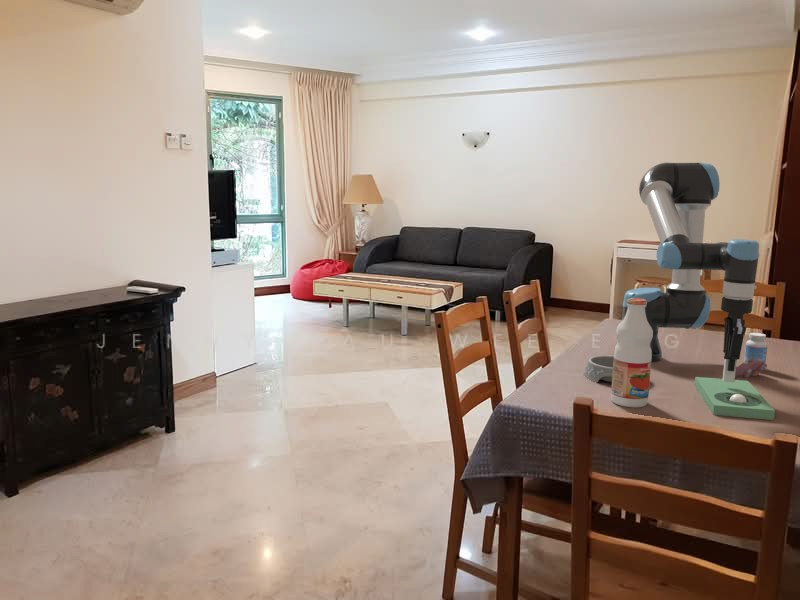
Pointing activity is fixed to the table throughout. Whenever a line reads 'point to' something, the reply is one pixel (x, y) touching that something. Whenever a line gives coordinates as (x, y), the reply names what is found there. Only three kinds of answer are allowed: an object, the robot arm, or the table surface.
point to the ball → (738, 398)
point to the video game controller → (750, 368)
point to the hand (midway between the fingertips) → (728, 381)
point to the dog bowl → (599, 368)
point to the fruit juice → (632, 357)
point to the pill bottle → (756, 347)
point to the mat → (720, 404)
